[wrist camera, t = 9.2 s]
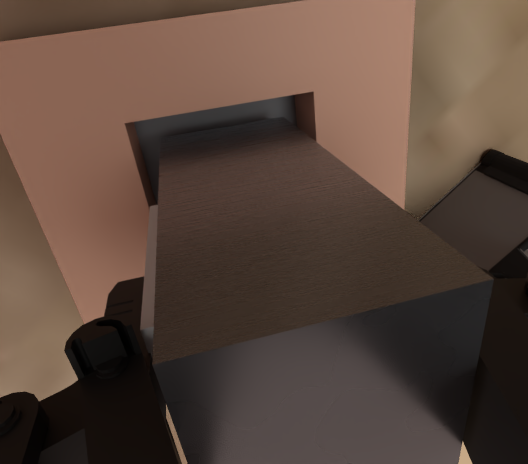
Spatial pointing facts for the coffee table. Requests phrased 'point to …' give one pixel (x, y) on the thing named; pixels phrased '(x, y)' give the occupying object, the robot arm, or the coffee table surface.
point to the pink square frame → (192, 113)
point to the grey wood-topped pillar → (305, 308)
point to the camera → (487, 216)
